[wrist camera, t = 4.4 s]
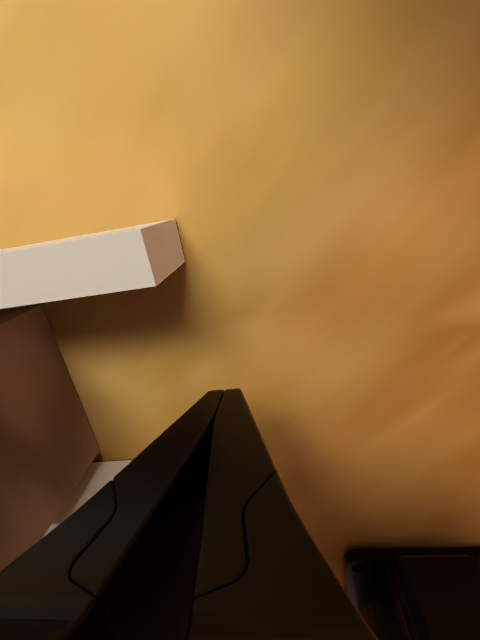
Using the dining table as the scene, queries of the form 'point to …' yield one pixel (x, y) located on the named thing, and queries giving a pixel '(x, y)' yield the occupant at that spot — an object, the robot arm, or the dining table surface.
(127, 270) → the chute
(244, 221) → the dining table surface
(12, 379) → the walnut block
